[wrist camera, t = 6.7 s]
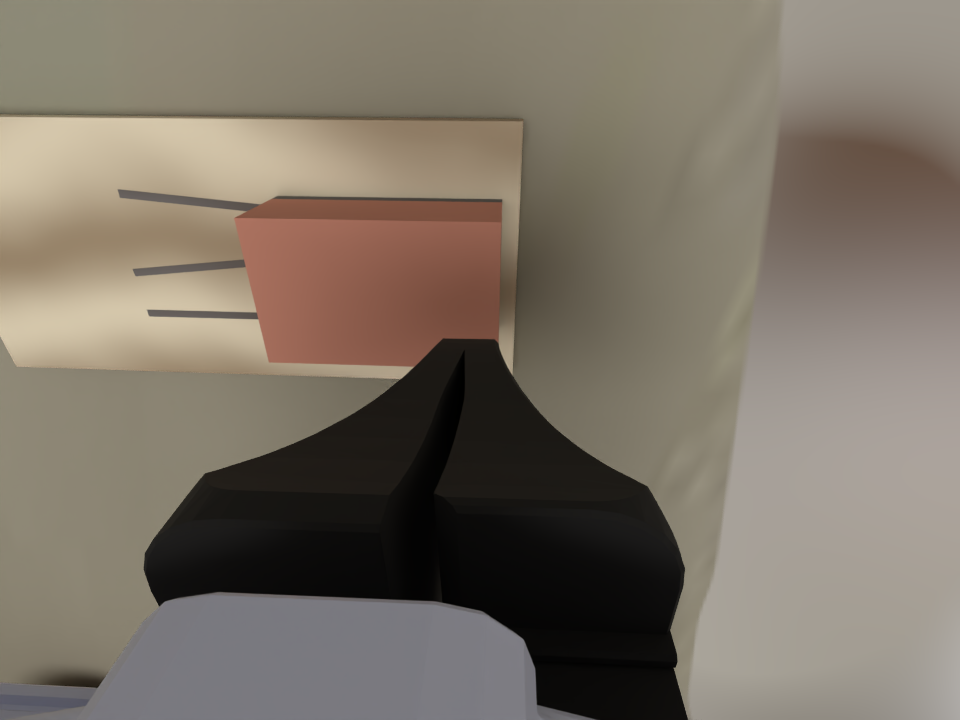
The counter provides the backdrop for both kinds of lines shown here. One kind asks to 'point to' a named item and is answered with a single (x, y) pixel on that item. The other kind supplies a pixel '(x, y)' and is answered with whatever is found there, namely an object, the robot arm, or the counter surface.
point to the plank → (204, 226)
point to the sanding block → (371, 276)
